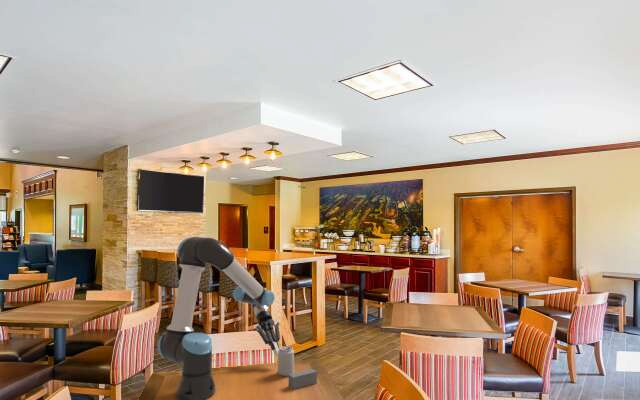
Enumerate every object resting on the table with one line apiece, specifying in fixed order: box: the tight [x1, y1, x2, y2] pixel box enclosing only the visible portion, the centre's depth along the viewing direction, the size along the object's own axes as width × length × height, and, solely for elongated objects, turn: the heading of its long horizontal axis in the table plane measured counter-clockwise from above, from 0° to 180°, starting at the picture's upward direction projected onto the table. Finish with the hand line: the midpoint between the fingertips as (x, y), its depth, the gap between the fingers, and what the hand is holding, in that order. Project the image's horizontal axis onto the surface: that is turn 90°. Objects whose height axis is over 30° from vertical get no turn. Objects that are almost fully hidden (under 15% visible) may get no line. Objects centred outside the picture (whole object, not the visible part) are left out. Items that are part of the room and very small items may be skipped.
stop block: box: [288, 368, 318, 390], centre depth 173 cm, size 12×4×5 cm, turn 124°
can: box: [277, 345, 295, 377], centre depth 185 cm, size 8×8×12 cm
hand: (278, 355), depth 193 cm, fingers closed
